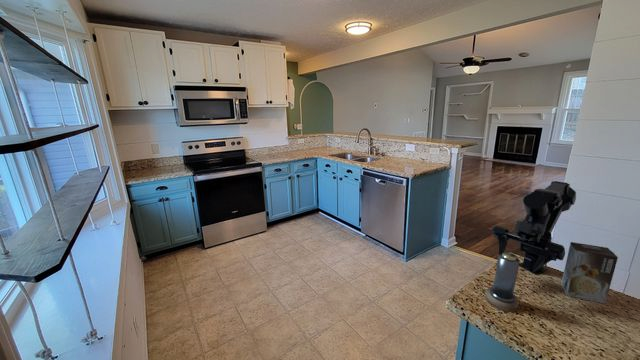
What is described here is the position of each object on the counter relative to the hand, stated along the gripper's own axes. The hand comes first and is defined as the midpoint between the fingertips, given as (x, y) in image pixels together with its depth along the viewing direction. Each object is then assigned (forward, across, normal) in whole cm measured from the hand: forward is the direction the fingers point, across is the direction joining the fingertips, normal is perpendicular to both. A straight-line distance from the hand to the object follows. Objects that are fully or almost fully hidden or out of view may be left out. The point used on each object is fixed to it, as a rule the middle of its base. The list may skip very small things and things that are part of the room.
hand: (515, 264), depth 84 cm
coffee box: (-4, +14, +19) cm, 24 cm away
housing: (+11, 0, 0) cm, 11 cm away
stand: (+12, 0, +2) cm, 12 cm away
